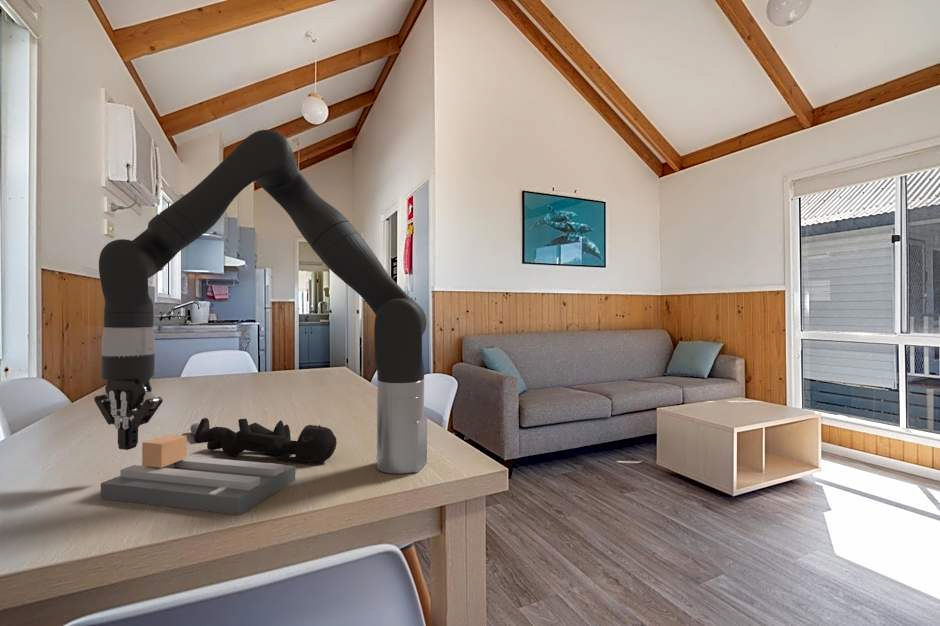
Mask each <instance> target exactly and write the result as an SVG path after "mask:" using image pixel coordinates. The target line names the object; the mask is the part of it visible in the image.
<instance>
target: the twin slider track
mask: <svg viewBox="0 0 940 626" xmlns="http://www.w3.org/2000/svg"><path fill="white" fill-rule="evenodd" d="M119 472H120V474H119V476H115V477H113V478H111V479H108V480H106V481H102V482H101V483H100V499H101V498H102V500H111V501H119V502H127V503H128V502H129V503H136V504H144V505H153V506H162V507H168V508H169V507H170V508H178V509H187V510H193V511H195V510H196V511H201V512H202V511H203V512H211V513H213V512H214V513H221V514H228V515H236V516H237V515H238V516H240V515H242V514H243V513H245V512H246V511H248V510H250V509H251V508H252V507H255V506H256V505H257V504H259V503H261V502H262V501H263V500H265V499H268V498H269V497H270V496H272V495H273V494H276V493H277V492H278V491H280V490H282V489H283V488H285V487H286V486H288V485H289V484H291V483H293V482H294V481H296V465H287V464H282V463H281V464H280V463H271V462H259V461H247V460H234V459H226V458H213V457H203V456H201V457H200V456H191V455H187V458H185V459H183V460H180V461H178V462H175V467H174V468H171V469H170V468H160V467H149V466H142V465H140V464H139V465H138V464H133V465H130V466H128V467H125V468H122V469H120V471H119Z"/></svg>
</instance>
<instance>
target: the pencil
mask: <svg viewBox="0 0 940 626" xmlns="http://www.w3.org/2000/svg"><path fill="white" fill-rule="evenodd" d="M199 424H200V422H199V423H198V422H197V423H193V424H191V426H190V432H191V433H192V434H193V435H194V436H195V433H196V431H197V428H198V426H199Z"/></svg>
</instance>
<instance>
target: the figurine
mask: <svg viewBox="0 0 940 626" xmlns="http://www.w3.org/2000/svg"><path fill="white" fill-rule="evenodd" d="M237 423H238V427H239V430H238V431H236V432H235V431H234V430H232V429H230V428H228V427H225V426H223V427H222V426H213V427H210V420H209V419H208V418H207V417H203V418H202V419H201V420H200V422H199V426H198V428H197V431H196V433H195V435H194V436H193V442H194V443H195V444H204V443H207V444H206V445H207V446H206V448H207V449H208V450H211V451H214V450H215V451H216V450H220V449H221V450H222V451H223V453H224V454H225V455H226V456H228V457H230V458H233V457H237V456H239V455H240V454H242V453H243V452H244V451H246V452H247V451H248V452H252V453H263V454H264V453H265V454H269V455H275V456H277V457H276V459H275V462H277V463H290V464H291V463H292V464H293V463H294V464H302V465H318V464H322V463H325V462H326V461H327V460H329V459H330V458H331V457H332V456H333V455H334V453H335V450H336V447H337V443H338V442H337V437H336V436H335V433H334V432H333V431H332V429H331V428H328V427H327V426H321V425H320V424H318V425H316V424H315V425H314V424H307V425H305V426H304V427H303V428H302V430H301V431H300V434H299V435H298V438H297V440H293V439H291V438H292V437H291V430H290V427H289V424H285V425H284V422H283V420H281V419H280V420H279V421H278V422H277V423H276V425H275V427H274V428H273V430H271V429H269V428H267V427H264V426H262V425H261V424H259V423H258V422H253V423H251V424H249V421H248V420H247V418H238V421H237ZM292 455H293V456H292Z"/></svg>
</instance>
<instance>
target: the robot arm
mask: <svg viewBox="0 0 940 626" xmlns="http://www.w3.org/2000/svg"><path fill="white" fill-rule="evenodd" d="M255 182H256V183H257V184H258V185H259V186H260V187H261V188H262V190H264V191H265V192H267V194H268V195H269V196H270V197H271V198H272V199H273V200H274V201H276V203H277V204H278V205H279V206H280V207H281V208H282V209H283V210H284V211H285V213H287V214H288V216H289V217H290V219H291V220H292V221H293V223H294V225H295V227H296V228H297V230H298V231H299V232H300V234H301V235H302V237H303V238H304V239H305V241H306V242H307V244H308V245H309V246H310V247H311V249H312V250H313V251H314V253H316V255H317V256H318V257H319V259H321V261H322V262H323V264H325V266H326V267H327V268H328V270H330V271H331V272H332V273H334V274H335V276H337V277H338V278H339V279H341V281H342V282H344V283H345V284H346V285H347V286H348V287H350V288H351V289H352V290H354V291H355V292H356V293H357V294H358V295H359V296H360V297H361V298H362V299H363V300H364V302H366V304H367V305H368V306H369V308H370V309H371V310H372V312H373V313H374V314H375V318H374V325H373V326H374V328H373V331H374V334H373V337H374V339H373V343H374V345H373V346H374V364H375V367H376V372H377V374H376V375H377V379H376V380H377V388H376V389H377V391H376V392H377V395H376V396H377V398H376V399H377V400H376V402H377V403H376V405H377V406H376V407H377V408H376V468H377V470H378V471H381V472H383V473H386V474H408V473H418V472H419V471H420V470H421V469H422V468H423V467H424V466H425V465H426V462H428V457H427V456H428V416H427V415H426V414H425V365H424V361H423V360H424V359H423V335H424V333H425V331H426V329H427V318H426V314H425V310H423V308H422V306H421V305H419V303H417V302H416V301H415V300H414V299H413V298H412V297H411V296H410V295H409V294H408V293H406V291H405V290H403V289H402V287H401V286H399V284H398V283H397V282H396V281H395V280H394V279H393V278H392V276H391V275H390V274H389V273H388V272H387V270H386V269H385V267H384V266H383V264H382V263H381V261H380V260H379V258H378V257H377V256H376V254H375V252H373V250H372V248H371V247H370V246H369V244H367V242H366V241H365V239H364V238H363V236H361V235H362V234H360V232H358V230H357V229H356V228H355V227H354V226H353V224H352V223H351V222H350V221H349V220H348V218H346V216H345V215H344V214H342V213H341V212H340V211H339V210H338V209H337V208H336V207H334V206H332V205H331V204H329V203H328V202H327V201H326V200H324V199H323V198H322V197H320V195H318V194H317V193H316V191H315V190H314V189H313V187H311V185H310V183H309V182H308V180H307V179H306V177H305V176H304V175H303V173H302V171H301V170H300V167H299V166H298V164H297V161H296V158H295V154H294V152H293V149H292V147H291V144H290V142H289V141H288V139H287V138H286V137H285V135H283V134H282V133H279V131H275V130H273V129H272V130H271V129H260V130H256V131H255V132H252V133H251V134H249V135H248V136H247V137H246V138H245V139H243V140H242V141H241V143H239V144H238V145H237V146H236V147H235V148H234V150H232V151H231V152H230V154H228V155H227V157H226V158H224V159H223V160H222V161H221V162H220V164H218V165H217V166H216V167H215V168H214V169H213V170H212V171H211V172H210V173H209V174H208V175H207V176H206V177H205V178H204V179H203V180H201V181H200V182H199V183H198V184H197V185H196V186H195V187H194V188H192V189H191V190H190V191H188V192H187V193H185V194H184V195H183V196H182V197H180V198H179V199H178V200H176V201H175V202H173V203H171V204H170V205H169V206H168V207H166V208H165V209H163V210H161V212H159V213H157V214H156V215H154V217H152V218H151V219H150V220H149V222H147V228H146V229H145V230H144V231H142V232H141V233H140V234H139V235H137V236H136V237H135V238H134V239H131V240H130V239H123V238H122V239H121V238H119V239H115V240H112V241H110V242H108V243H107V244H105V246H103V248H102V250H101V251H100V254H99V258H98V273H99V274H98V275H99V280H100V284H101V285H100V286H101V290H102V291H101V292H102V295H103V299H104V307H103V309H104V310H103V333H102V337H101V367H100V368H101V371H100V373H101V375H100V376H101V377H100V378H101V380H103V381H106V385H105V388H104V390H105V391H104V392H103V393H102V394H100V395H95V396H94V403H95V405H96V406H97V408H98V409H99V411H100V412H101V415H102V417H103V418H104V419H105V421H106V423H107V425H110V426H111V425H113V426H114V428H115V429H116V430H117V446H118V449H119V450H122V451H123V450H124V451H128V450H131V449H134V448H136V447H137V446H138V442H139V427H140V426H142V425H144V424H148V423H149V422H150V420H151V419H152V418H153V416H154V415H155V413H156V412H157V410H158V409H159V407H160V406H161V405H162V404H163V397H162V396H158V397H156V396H155V395H154V394H153V393H152V390H153V389H152V385H151V382H150V380H151V379H152V378H153V377H154V376H155V365H156V364H155V363H156V362H155V356H156V355H155V354H156V353H155V351H156V349H155V348H156V346H155V345H156V340H155V339H156V338H155V331H154V303H153V302H154V301H153V299H152V298H151V297H150V294H149V279H150V278H151V277H153V276H155V275H156V274H157V273H158V272H160V271H161V270H162V269H163V268H164V267H165V266H167V264H169V262H170V261H172V260H173V258H175V257H176V256H177V255H178V253H179V252H181V251H182V250H183V249H184V248H186V247H188V246H189V245H191V244H192V243H194V242H195V241H196V240H198V239H199V238H201V236H203V235H204V234H206V233H207V232H209V230H211V229H212V227H214V226H215V224H217V222H219V220H220V219H221V217H222V216H223V215H224V213H225V212H226V210H227V209H228V208H229V206H230V205H231V204H232V202H233V201H234V200H235V198H236V197H237V196H238V195H239V194H240V193H241V192H242V191H243V190H244V189H246V188H247V187H248V186H250V185H251V184H252V183H255Z"/></svg>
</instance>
